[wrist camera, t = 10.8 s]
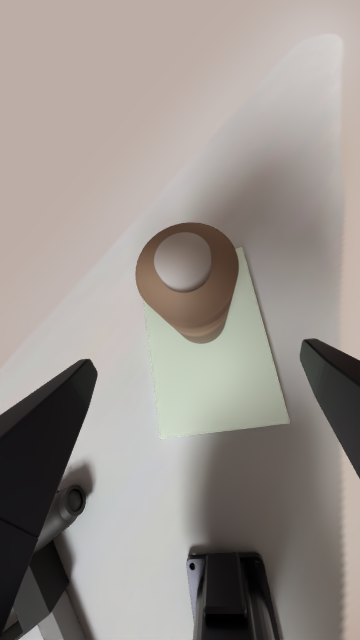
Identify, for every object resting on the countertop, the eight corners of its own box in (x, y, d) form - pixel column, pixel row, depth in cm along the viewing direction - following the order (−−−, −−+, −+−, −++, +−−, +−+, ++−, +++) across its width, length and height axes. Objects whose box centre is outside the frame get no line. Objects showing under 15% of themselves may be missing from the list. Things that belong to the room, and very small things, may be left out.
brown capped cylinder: (216, 350, 20) (220, 329, 8) (169, 334, 21) (110, 294, 9) (232, 303, 21) (256, 218, 9) (185, 290, 22) (150, 200, 10)
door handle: (153, 687, 15) (51, 483, 18) (-56, 855, 15) (-117, 618, 18) (163, 627, 18) (75, 463, 22) (-9, 765, 18) (-68, 579, 22)
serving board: (285, 419, 19) (290, 423, 18) (163, 434, 20) (160, 439, 19) (240, 252, 23) (242, 246, 22) (143, 275, 25) (139, 271, 23)
